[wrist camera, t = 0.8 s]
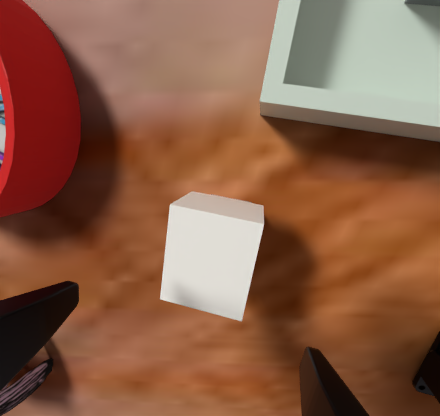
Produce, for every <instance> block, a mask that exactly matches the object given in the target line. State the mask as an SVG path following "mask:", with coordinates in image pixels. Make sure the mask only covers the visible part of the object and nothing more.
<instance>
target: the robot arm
mask: <svg viewBox="0 0 440 416" xmlns="http://www.w3.org/2000/svg"><path fill="white" fill-rule="evenodd" d="M78 302H79V285H78V284H77V283H75V282H71V281H65V282H62V283H58V284H55V285H51V286H48V287H45V288H41V289H38V290H34V291H31V292H28V293H24V294H21V295H17V296H14V297H11V298H7V299H4V300H0V391H1V390H2V389H3V388H4V387H5V386H6V385H7V384H8V383H9V382H10V381H11V380H12V379H13V378H14V377H15V376H16V374H17V373H18V372H19V371H20V370H21V369H22V368H23V367H24V366H25V365H26V364H27V363H28V362H29V361H30V360H31V359H32V358H33V357H34V356H35V355H36V354H37V352H38V351H39V350H40V349H41V348H42V347H43V346H44V345H45V344H46V343H47V342H48V341H49V339H50V338H51V337H52V336H53V335H54V333H55V332H56V331H57V330H58V328H59V327H60V326H61V325H62V324H63V322H64V321H65V320H66V319H67V317H68V316H69V315H70V314H71V312H72V311H73V310H74V309H75V308H76V306H77V304H78ZM412 384H413V386H414V387H415V389H416V390H417V391H419V392H422V393H425V394H429V395H432V396H435V398H436V399H437V400H438V402H439V403H440V332H439V334H438V335H437V337H436V339H435V341H434V343H433V345H432V347H431V348H430V350H429V352H428V354H427V356H426V358H425V360H424V361H423V363H422V365H421V367H420V369H419V371H418V373H417V374H416V376H415V378H414V380H413V382H412ZM300 390H301V408H302V416H369V414H368V413H367V412H366V411H365V409H364V408H363V407H362V405H361V404H360V403H359V401H358V400H357V399H356V397H355V396H354V395H353V393H352V392H351V391H350V390H349V388H348V387H347V386H346V384H345V383H344V382H343V380H342V379H341V378H340V376H339V375H338V374H337V372H336V371H335V370H334V368H333V367H332V366H331V365H330V363H329V362H328V361H327V359H326V358H325V357H324V355H323V354H322V353H321V351H320V350H318V349H315V348H312V347H306V349H305V351H304V354H303V357H302V360H301V363H300Z"/></svg>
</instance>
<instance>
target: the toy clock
mask: <svg viewBox="0 0 440 416" xmlns="http://www.w3.org/2000/svg"><path fill="white" fill-rule="evenodd" d="M80 140H81V115H80V107H79V98H78V94H77V90H76V86H75V83H74V79H73V75H72V73H71V70H70V68H69V65H68V63H67V60H66V58H65V56H64V53H63V51H62V50H61V48H60V46H59V44H58V43H57V41H56V39H55V38H54V36H53V34H52V32H51V31H50V30H49V28H48V27H47V26H46V25H45V23H44V22H43V21H42V20H41V18H40V17H39V16H38V15H37V13H36V12H35V11H34V10H32V9H31V8H30V7H29V6H28V5H27V4H26V3H25V2H24V1H23V0H0V217H4V216H8V215H12V214H16V213H20V212H24V211H28V210H31V209H33V208H36V207H39V206H42V205H43V204H45V203H46V202H48V201H49V200H51V199H52V198H53V197H54V196H55V195H56V194H57V193H58V192H59V191H60V190H61V189H62V188H63V187H64V185H65V183H66V182H67V180H68V178H69V177H70V175H71V173H72V170H73V168H74V165H75V162H76V160H77V156H78V151H79V145H80Z"/></svg>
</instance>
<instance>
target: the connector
mask: <svg viewBox="0 0 440 416" xmlns="http://www.w3.org/2000/svg"><path fill="white" fill-rule="evenodd" d="M263 227H264V207H263V205H258V204H253V203H252V202H247V201H242V200H237V199H232V198H227V197H222V196H217V195H212V194H211V195H208V194H203V193H198V192H193V191H192V192H190V193H188V194H187V195H185V196H183V197H182V198H180V199H178V200H177V201H175V202H173V203H172V204H170V210H169V220H168V229H167V239H166V248H165V258H164V267H163V276H162V286H161V295H160V299H161V300H165V301H168V302H172V303H176V304H180V305H183V306H187V307H191V308H194V309H198V310H202V311H205V312H209V313H213V314H217V315H220V316H224V317H228V318H231V319H235V320H239V321H242V318H243V314H244V309H245V305H246V301H247V296H248V292H249V288H250V283H251V279H252V275H253V270H254V266H255V262H256V257H257V253H258V249H259V244H260V240H261V236H262V231H263Z"/></svg>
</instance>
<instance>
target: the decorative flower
mask: <svg viewBox="0 0 440 416" xmlns="http://www.w3.org/2000/svg"><path fill="white" fill-rule="evenodd" d="M51 359H52V358H51ZM51 359H48V360H46V361H44V362H42V363H41V364H39V365H38V366H37V367H35V368H34V369H33V370H31V371H29V372H28V373H27V374H25V375H24V376H23V377H21V378H20V379H19V380H18V381H16V382H15V383H13V384H12V385H10V386H9V387H7V385H8V384H7V385H6V386H5V387H4V388H3V389H2V390H1V391H0V416H1V415H3V414H5V413H7V412H8V411H10V410H11V409H13V408H14V407H16V406H17V405H18V404H20V403H21V402H22V401H24V400H25V399H26V398H27V397H28V396H30V395H31V394H32V393H33V392H34V391H35V390H36V389H37V388H38V387H39V386H40V385H41V384H42V382H43V381H44V380H45V379H46V377H47V375H48V374H49V373H50V372H51V371H52V366H53V363H52V362H53V359H52V360H51ZM6 387H7V388H6Z"/></svg>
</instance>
